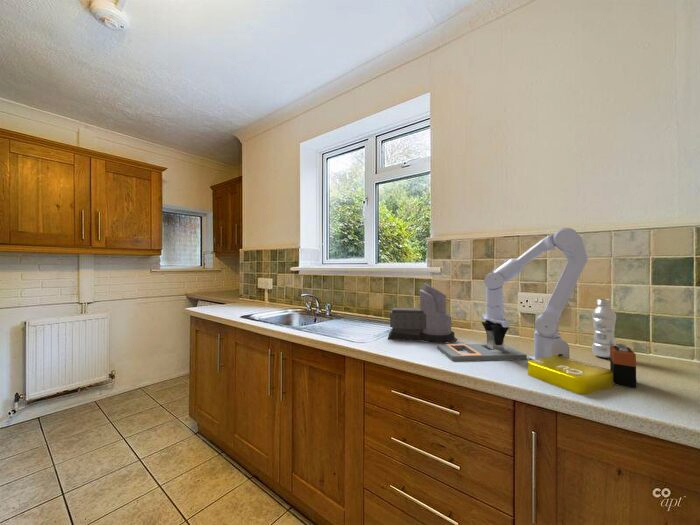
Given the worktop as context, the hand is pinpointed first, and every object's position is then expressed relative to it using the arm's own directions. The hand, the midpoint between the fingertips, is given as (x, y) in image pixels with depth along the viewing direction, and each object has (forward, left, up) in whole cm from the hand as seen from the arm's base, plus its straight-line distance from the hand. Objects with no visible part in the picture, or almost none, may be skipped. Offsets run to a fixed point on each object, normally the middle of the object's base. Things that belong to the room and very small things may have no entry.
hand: (495, 343), depth 102 cm
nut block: (0, 0, -2) cm, 2 cm away
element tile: (-24, -7, -4) cm, 25 cm away
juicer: (+24, +20, -4) cm, 31 cm away
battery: (-27, -20, -4) cm, 34 cm away
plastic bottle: (-7, -35, -4) cm, 36 cm away
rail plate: (0, +6, -4) cm, 7 cm away
